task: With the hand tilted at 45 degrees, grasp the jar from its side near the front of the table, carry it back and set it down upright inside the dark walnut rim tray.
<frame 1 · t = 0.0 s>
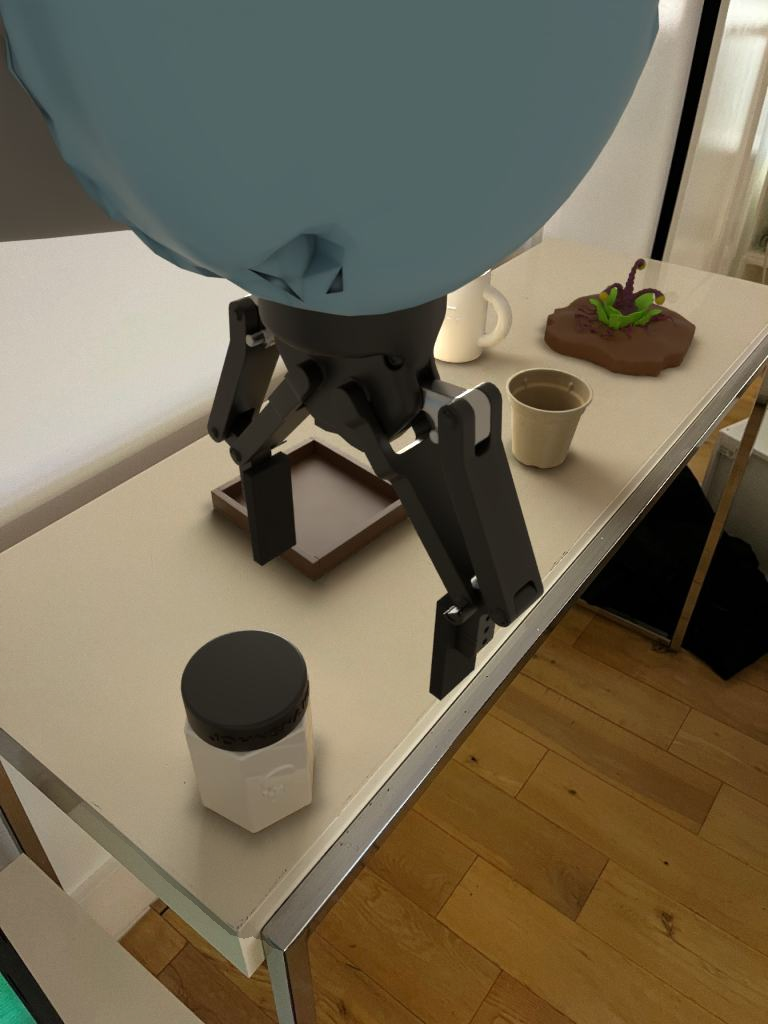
hand: (356, 611, 43), 21 cm above the table, tool pointing down, fingers open, 13 cm apart
tray: (314, 509, 82), on the table
jar: (260, 778, 58), on the table
plant: (618, 339, 112), on the table
mug: (466, 354, 108), on the table
flower pot: (537, 454, 90), on the table
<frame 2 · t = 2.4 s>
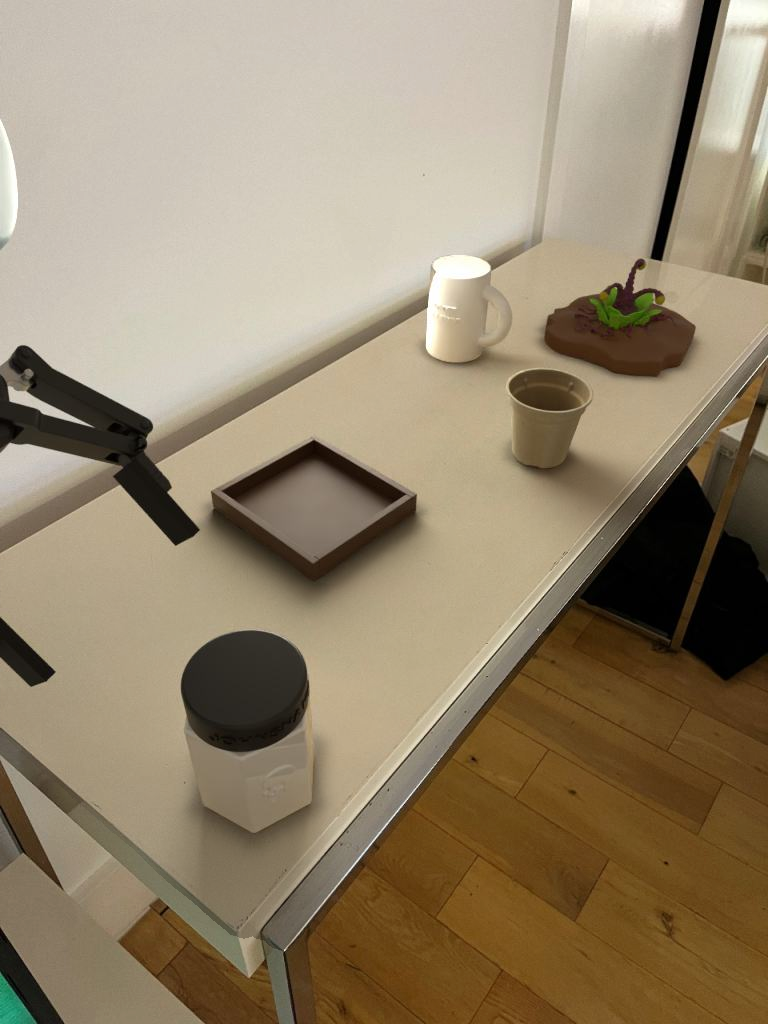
hand: (122, 603, 50), 15 cm above the table, tool tilted 45°, fingers open, 13 cm apart
nothing on the table moved.
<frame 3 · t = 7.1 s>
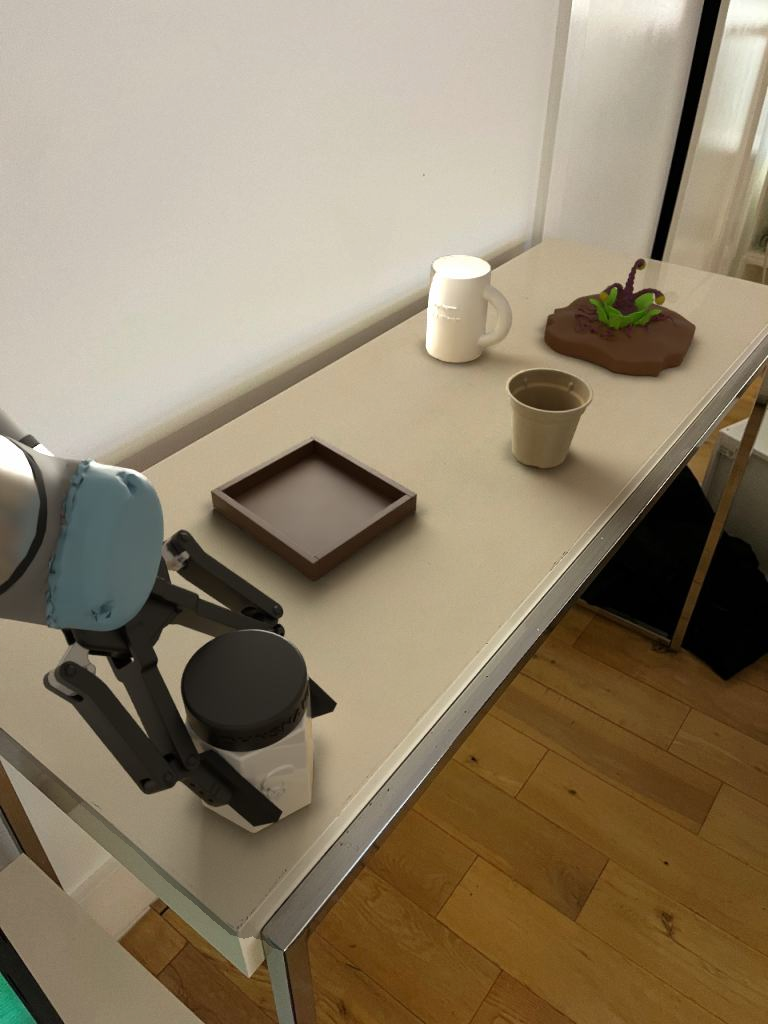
hand: (297, 761, 54), 4 cm above the table, tool tilted 45°, fingers closed on jar, 8 cm apart
jar: (260, 778, 58), on the table, touching gripper
everything else where it was.
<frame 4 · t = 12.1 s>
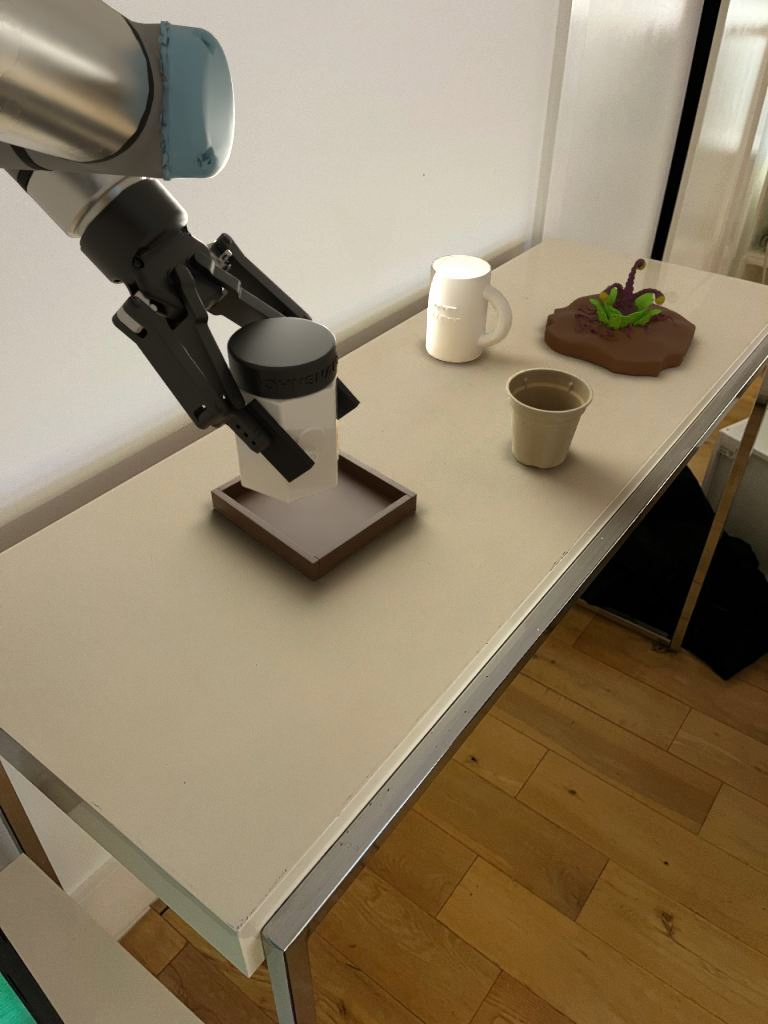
hand: (326, 440, 62), 17 cm above the table, tool tilted 45°, fingers closed on jar, 8 cm apart
jar: (291, 472, 65), point 13 cm above the table, touching gripper
everything else where it was.
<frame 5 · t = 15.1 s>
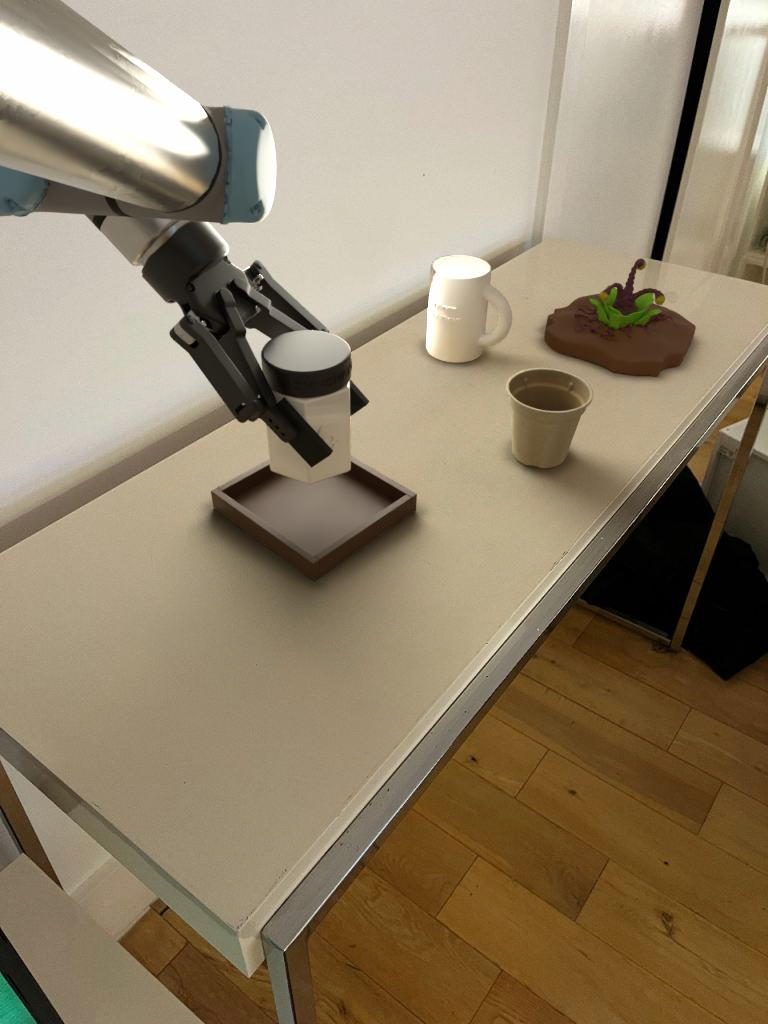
hand: (341, 433, 74), 10 cm above the table, tool tilted 45°, fingers closed on jar, 8 cm apart
jar: (311, 459, 78), point 6 cm above the table, touching gripper
everything else where it was.
when the fingers open (4 cm above the table, at t = 17.3 s): jar stays where it is, resting on tray.
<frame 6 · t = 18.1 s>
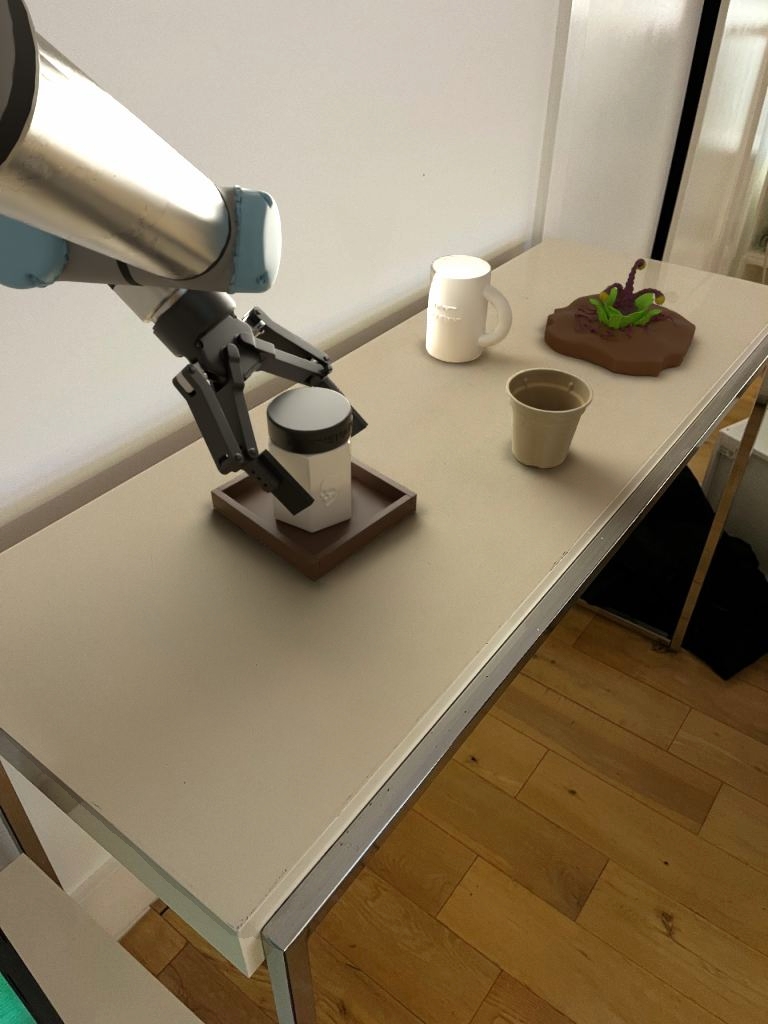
hand: (333, 467, 77), 6 cm above the table, tool tilted 45°, fingers open, 13 cm apart
jar: (314, 507, 81), resting on tray
everything else where it was.
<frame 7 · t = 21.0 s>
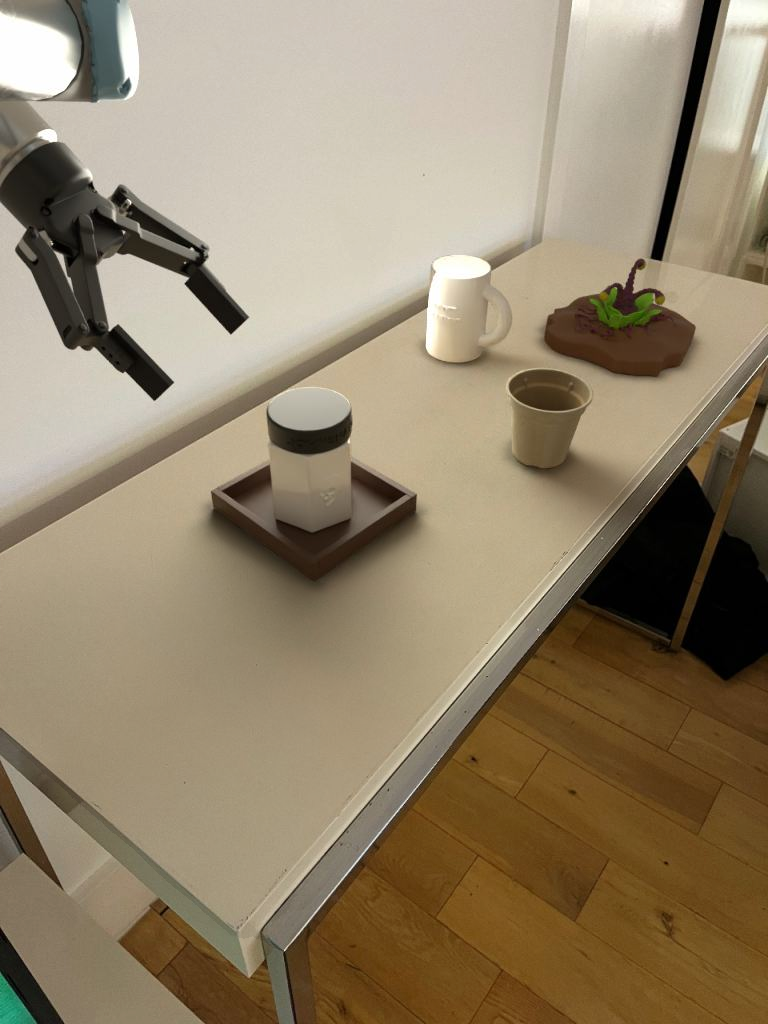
hand: (205, 357, 72), 17 cm above the table, tool tilted 45°, fingers open, 13 cm apart
nothing on the table moved.
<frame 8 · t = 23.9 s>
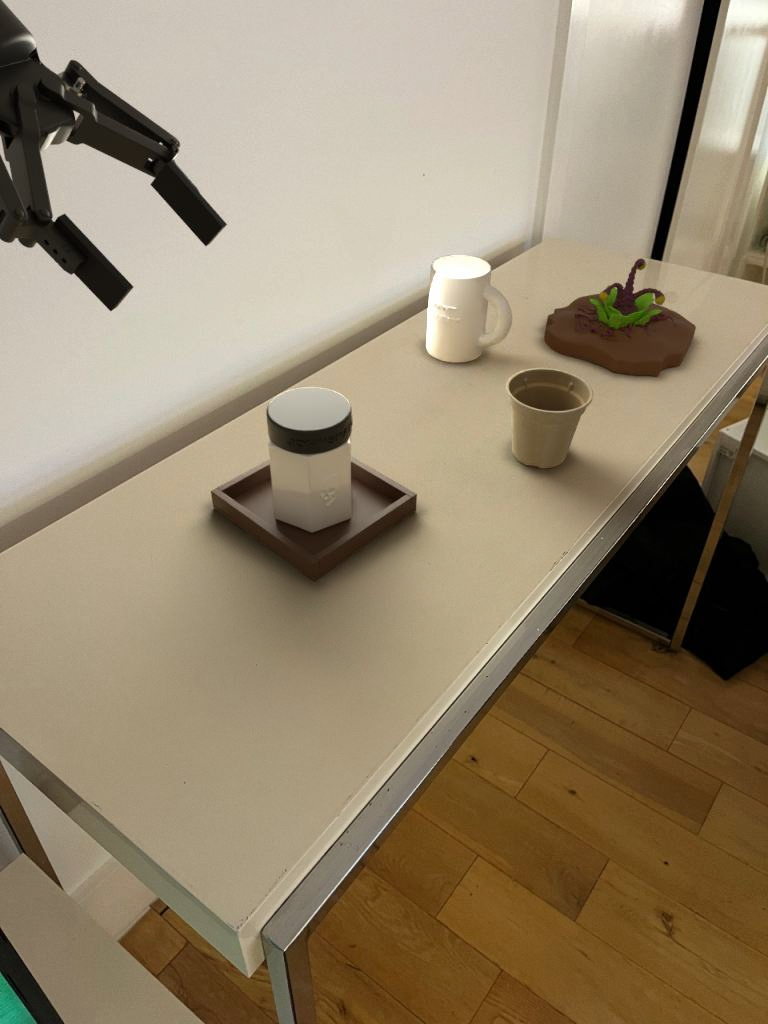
hand: (173, 265, 61), 28 cm above the table, tool tilted 45°, fingers open, 13 cm apart
nothing on the table moved.
at the end: jar inside the target area in the tray (0.0 cm from its centre), point 0.3 cm above the tray's base; jar tilted 0°; the gripper is holding nothing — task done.
